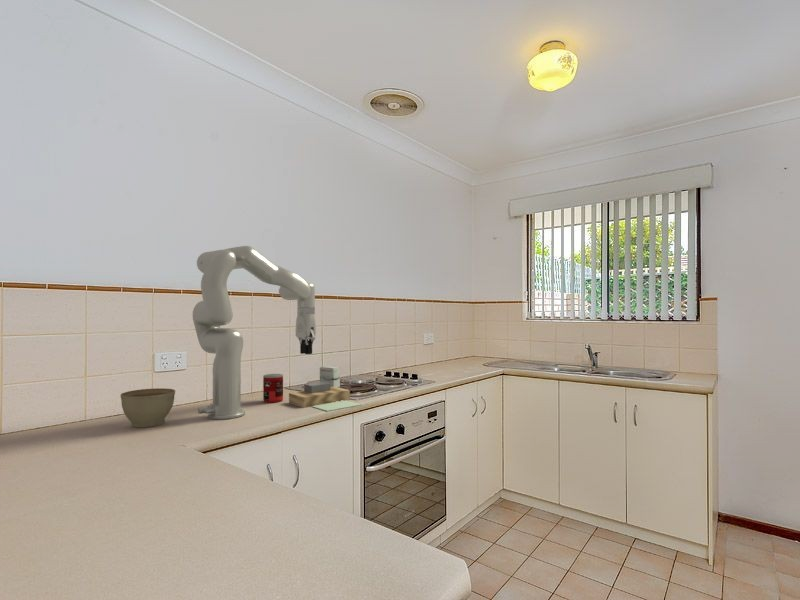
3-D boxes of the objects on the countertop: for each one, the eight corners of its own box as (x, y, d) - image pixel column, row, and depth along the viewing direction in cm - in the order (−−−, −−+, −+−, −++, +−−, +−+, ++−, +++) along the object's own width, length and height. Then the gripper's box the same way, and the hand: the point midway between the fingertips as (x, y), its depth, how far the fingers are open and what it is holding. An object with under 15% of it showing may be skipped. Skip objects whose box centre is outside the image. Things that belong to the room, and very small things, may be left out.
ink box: (340, 392, 205) (340, 366, 205) (333, 394, 201) (333, 368, 201) (326, 390, 210) (326, 365, 210) (319, 392, 205) (319, 366, 206)
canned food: (263, 400, 189) (263, 374, 189) (282, 398, 191) (282, 373, 192) (263, 403, 182) (263, 376, 182) (283, 402, 184) (283, 375, 184)
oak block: (303, 407, 174) (303, 397, 174) (289, 403, 183) (288, 393, 183) (349, 399, 188) (349, 390, 188) (334, 395, 197) (334, 386, 197)
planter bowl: (151, 431, 140) (151, 397, 141) (108, 429, 144) (108, 395, 144) (185, 419, 156) (185, 388, 156) (145, 417, 159) (146, 387, 160)
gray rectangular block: (311, 393, 182) (311, 386, 182) (304, 391, 186) (304, 384, 186) (330, 390, 188) (330, 383, 188) (322, 388, 192) (322, 381, 192)
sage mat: (327, 411, 167) (327, 410, 167) (311, 406, 175) (311, 406, 175) (361, 405, 177) (361, 404, 177) (345, 401, 186) (345, 400, 186)
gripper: (289, 311, 198) (289, 353, 198) (308, 311, 186) (308, 355, 185) (304, 311, 203) (304, 352, 203) (323, 311, 191) (323, 354, 190)
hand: (306, 353), depth 194 cm, fingers open, 3 cm apart
